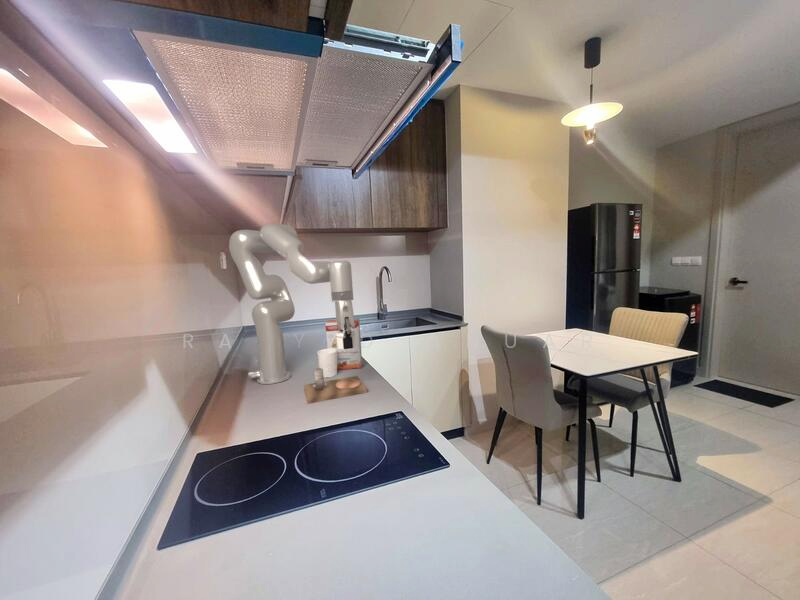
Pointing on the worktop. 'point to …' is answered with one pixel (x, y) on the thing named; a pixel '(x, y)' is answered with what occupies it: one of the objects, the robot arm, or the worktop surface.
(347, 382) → the post board
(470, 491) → the worktop surface
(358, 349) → the cracker box
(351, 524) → the worktop surface
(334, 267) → the robot arm
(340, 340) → the cap
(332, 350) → the white cup
